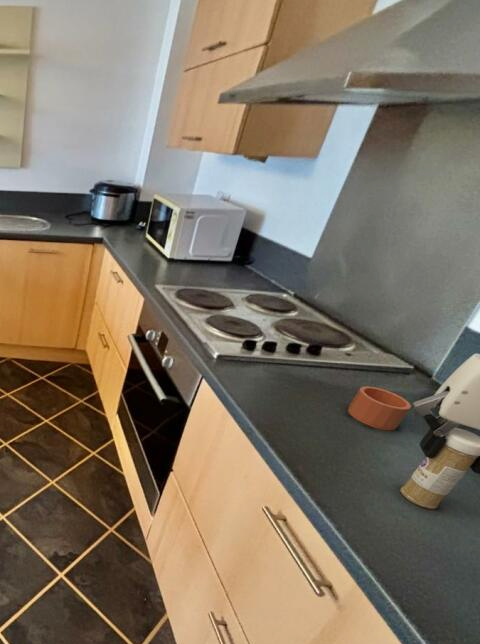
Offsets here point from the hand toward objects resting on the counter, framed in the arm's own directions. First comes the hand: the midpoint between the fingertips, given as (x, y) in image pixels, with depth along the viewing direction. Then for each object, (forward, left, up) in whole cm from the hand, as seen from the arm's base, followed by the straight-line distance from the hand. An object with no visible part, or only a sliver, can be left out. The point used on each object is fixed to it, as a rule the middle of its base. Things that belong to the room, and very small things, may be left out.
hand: (449, 459), depth 64 cm
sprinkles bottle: (0, 0, -9) cm, 9 cm away
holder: (+2, -25, -9) cm, 27 cm away
